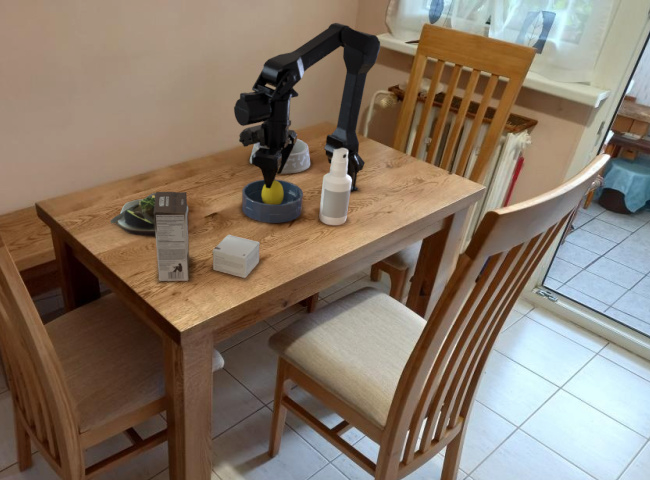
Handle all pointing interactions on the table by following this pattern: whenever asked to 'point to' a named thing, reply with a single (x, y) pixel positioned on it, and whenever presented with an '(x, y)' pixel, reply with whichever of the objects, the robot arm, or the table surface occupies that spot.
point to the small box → (236, 256)
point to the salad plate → (138, 217)
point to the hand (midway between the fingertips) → (273, 180)
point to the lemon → (273, 194)
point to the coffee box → (172, 236)
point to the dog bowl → (292, 157)
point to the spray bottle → (336, 190)
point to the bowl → (272, 213)
